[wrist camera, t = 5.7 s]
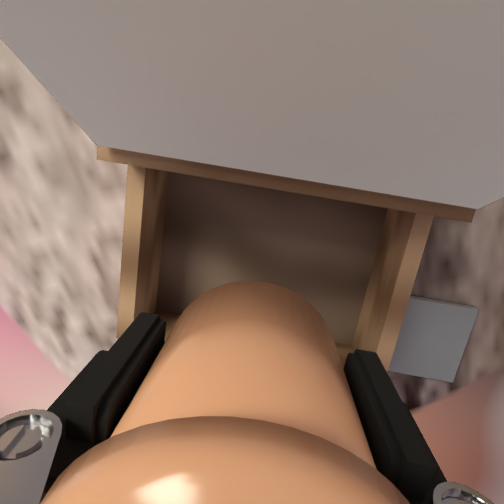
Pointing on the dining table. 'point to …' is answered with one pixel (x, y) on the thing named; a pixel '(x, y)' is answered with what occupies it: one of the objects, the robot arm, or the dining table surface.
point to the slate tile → (432, 338)
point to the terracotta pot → (236, 415)
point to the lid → (285, 86)
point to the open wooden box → (271, 244)
